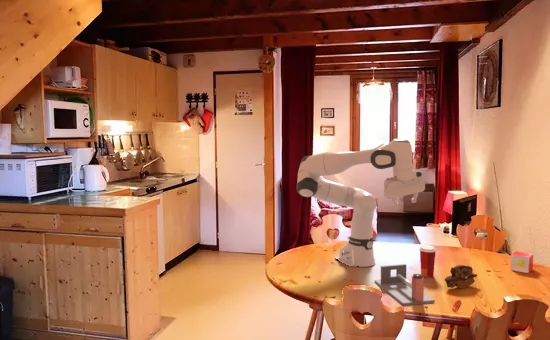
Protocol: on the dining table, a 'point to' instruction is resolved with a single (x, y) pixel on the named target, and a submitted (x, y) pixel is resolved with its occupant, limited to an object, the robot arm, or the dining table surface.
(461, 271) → the wooden carving
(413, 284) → the pink l-shaped bar
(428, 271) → the paper cup
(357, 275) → the dining table surface
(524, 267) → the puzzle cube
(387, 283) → the gray stand
